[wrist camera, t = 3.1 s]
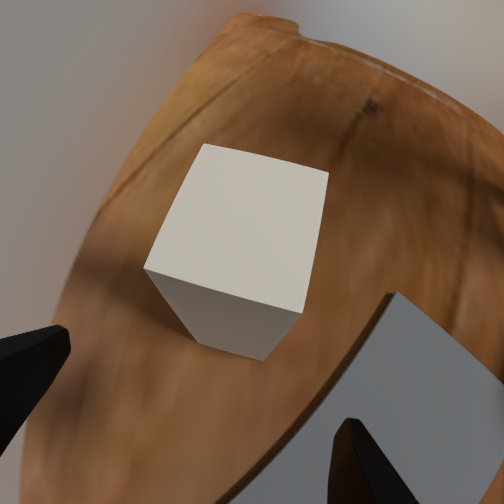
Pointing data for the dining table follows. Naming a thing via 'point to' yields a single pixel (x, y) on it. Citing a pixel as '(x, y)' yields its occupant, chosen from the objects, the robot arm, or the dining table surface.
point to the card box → (239, 248)
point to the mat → (400, 417)
